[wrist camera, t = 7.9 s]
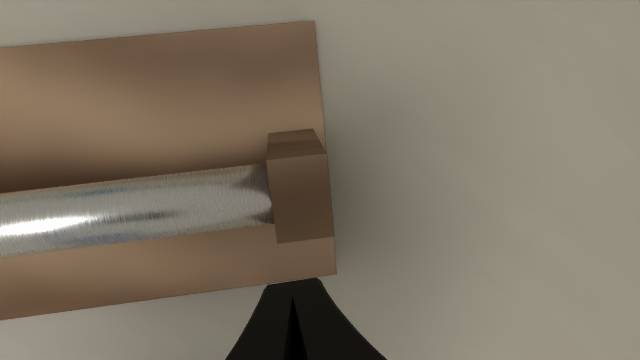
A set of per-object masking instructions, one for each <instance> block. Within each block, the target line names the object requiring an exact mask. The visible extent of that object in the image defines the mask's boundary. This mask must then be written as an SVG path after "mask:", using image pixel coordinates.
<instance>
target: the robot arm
mask: <svg viewBox="0 0 640 360" xmlns="http://www.w3.org/2000/svg"><path fill="white" fill-rule="evenodd" d="M225 360H387V359H386V358H385V357H384V356H382V355H381V354H380V353H379V352H378V351H377V350H376V349H375V348H374V347H373V346H372V345H371V344H370V343H369V342H368V341H367V340H366V339H365V338H364V337H363V336H362V335H361V334H360V333H359V332H358V331H357V330H356V328H355V327H354V326H353V325H352V324H351V323H350V322H349V320H348V319H347V318H346V317H345V316H344V314H343V313H342V312H341V311H340V310H339V308H338V307H337V306H336V304H335V303H334V301H333V300H332V299H331V297H330V296H329V294H328V293H327V291H326V290H325V288H324V286H323V284H322V282H321V281H320V280H319V279H318V278H310V279H304V280H297V281H290V282H284V283H277V284H271V285H267V287H266V288H265V289H264V291H263V293H262V296H261V298H260V300H259V302H258V304H257V307H256V309H255V310H254V312H253V314H252V316H251V318H250V320H249V322H248V324H247V325H246V327H245V329H244V330H243V332H242V334H241V336H240V337H239V339H238V341H237V342H236V344H235V346H234V347H233V349H232V350H231V352H230V353H229V355H228V356H227V358H226V359H225Z"/></svg>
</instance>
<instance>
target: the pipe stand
mask: <svg viewBox="0 0 640 360" xmlns="http://www.w3.org/2000/svg"><path fill="white" fill-rule="evenodd" d="M335 274H337V272H336V260H335V249H334V229H333V218H332V206H331V195H330V183H329V172H328V160H327V153H326V146H325V135H324V123H323V112H322V101H321V89H320V78H319V66H318V55H317V44H316V32H315V21H303V22H292V23H280V24H269V25H257V26H246V27H234V28H223V29H211V30H200V31H189V32H177V33H166V34H154V35H143V36H131V37H120V38H108V39H97V40H85V41H74V42H62V43H51V44H39V45H28V46H17V47H5V48H0V320H6V319H13V318H21V317H28V316H35V315H43V314H50V313H57V312H65V311H72V310H79V309H86V308H94V307H101V306H108V305H116V304H123V303H130V302H138V301H145V300H152V299H159V298H167V297H174V296H181V295H189V294H196V293H203V292H211V291H218V290H225V289H232V288H240V287H247V286H254V285H262V284H269V283H276V282H284V281H291V280H298V279H305V278H313V277H320V276H327V275H335Z"/></svg>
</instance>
